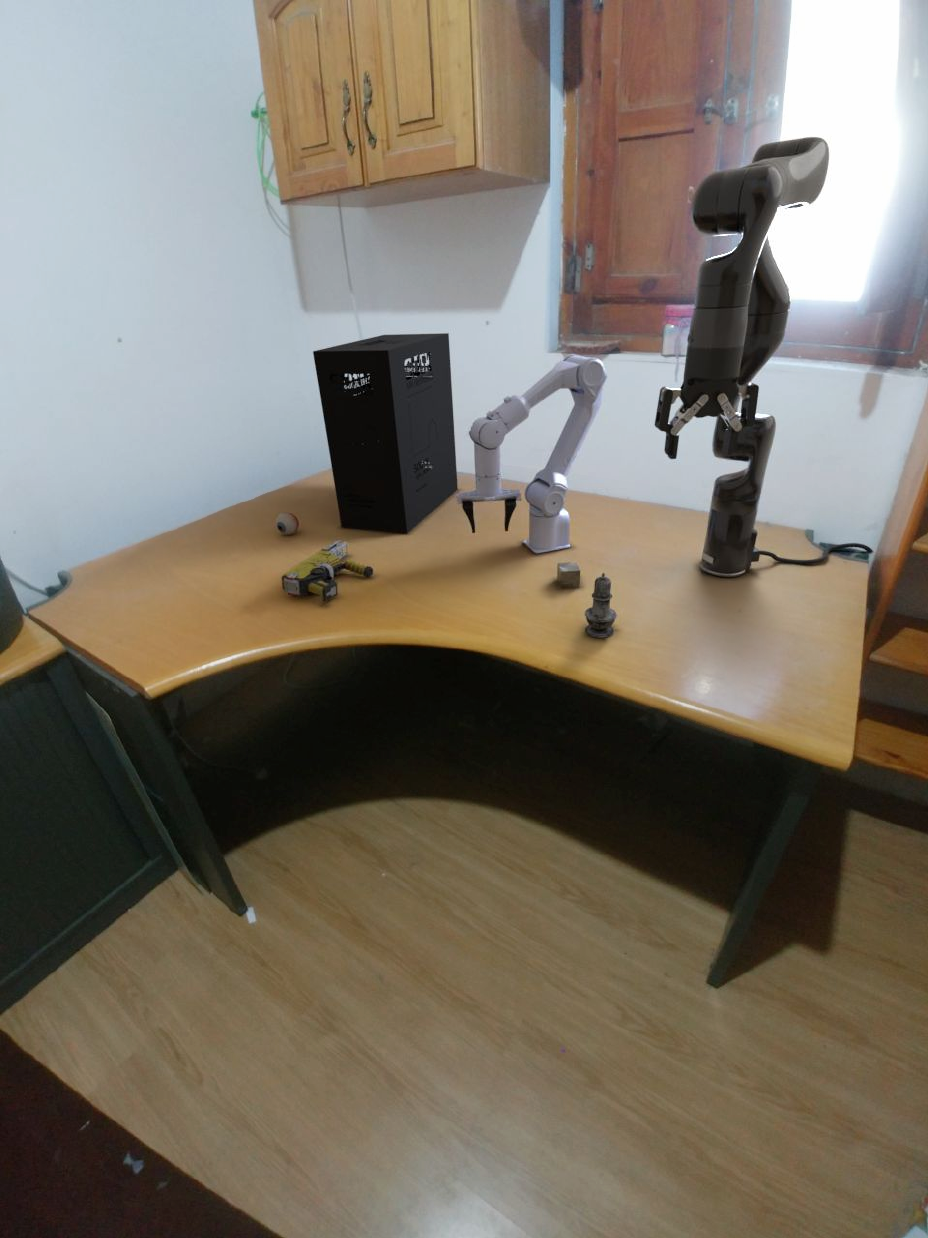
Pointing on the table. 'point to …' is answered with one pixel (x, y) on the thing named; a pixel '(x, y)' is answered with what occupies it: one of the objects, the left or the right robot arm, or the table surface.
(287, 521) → the eyeball
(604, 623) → the grey stone finial
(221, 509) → the table surface
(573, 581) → the grey cube
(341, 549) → the toy gun
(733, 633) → the table surface
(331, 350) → the cardboard box
